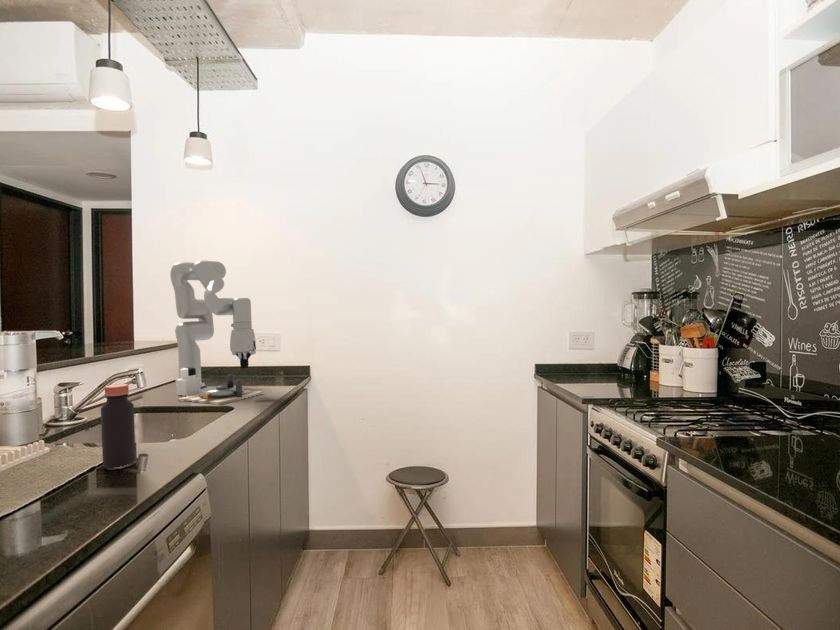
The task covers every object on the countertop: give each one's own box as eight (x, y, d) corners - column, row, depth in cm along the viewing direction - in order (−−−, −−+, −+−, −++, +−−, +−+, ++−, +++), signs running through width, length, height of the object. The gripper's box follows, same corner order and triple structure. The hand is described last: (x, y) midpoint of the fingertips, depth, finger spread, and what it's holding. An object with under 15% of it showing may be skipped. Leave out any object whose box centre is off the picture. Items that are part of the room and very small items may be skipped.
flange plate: (184, 396, 194) (183, 380, 194) (223, 387, 213) (222, 373, 213) (215, 399, 187) (215, 382, 187) (253, 390, 205) (253, 375, 205)
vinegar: (98, 472, 112) (95, 389, 111) (108, 463, 118) (105, 384, 118) (131, 469, 114) (128, 387, 113) (139, 460, 120) (136, 382, 120)
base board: (177, 400, 195) (177, 381, 195) (223, 390, 217) (223, 373, 217) (220, 405, 185) (219, 384, 185) (263, 393, 207) (263, 375, 207)
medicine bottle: (191, 392, 213) (190, 366, 213) (201, 394, 209) (200, 367, 209) (176, 395, 207) (175, 368, 206) (186, 396, 203) (185, 369, 203)
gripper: (222, 327, 203) (224, 369, 203) (254, 326, 200) (256, 368, 201) (231, 326, 210) (233, 367, 211) (262, 325, 208) (264, 366, 208)
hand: (244, 368), depth 206 cm, fingers closed
